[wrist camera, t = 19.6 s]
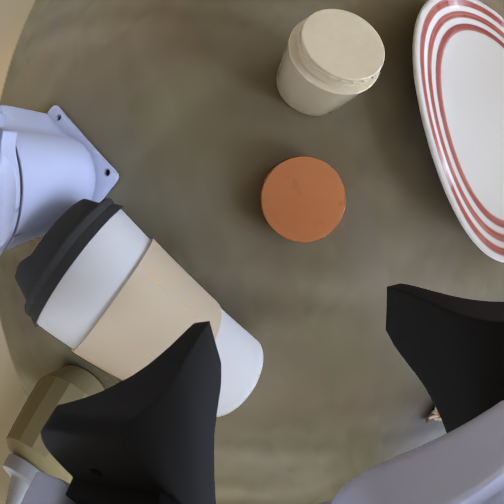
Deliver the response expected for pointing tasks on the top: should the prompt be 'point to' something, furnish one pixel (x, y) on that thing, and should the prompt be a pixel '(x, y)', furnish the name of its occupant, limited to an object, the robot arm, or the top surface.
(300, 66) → the jar
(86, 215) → the coffee cup
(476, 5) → the dinner plate
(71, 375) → the squeeze bottle
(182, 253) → the top surface
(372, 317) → the top surface
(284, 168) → the lid
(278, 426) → the top surface
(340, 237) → the top surface
